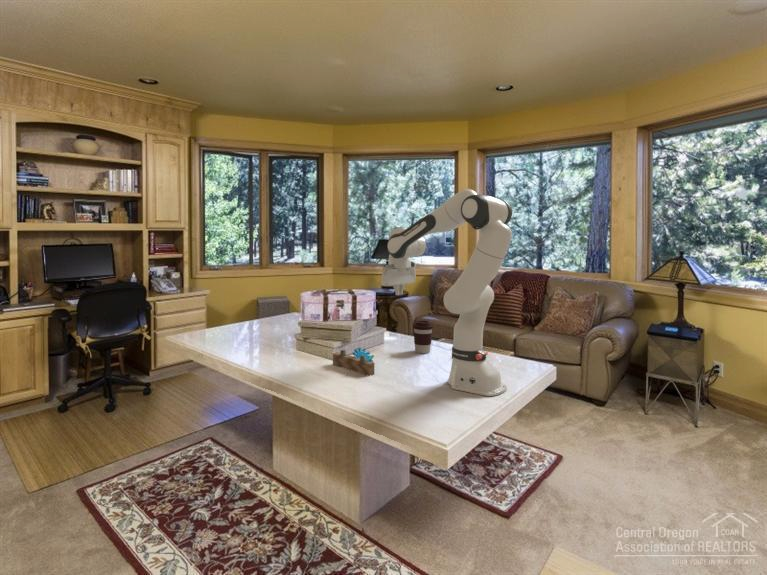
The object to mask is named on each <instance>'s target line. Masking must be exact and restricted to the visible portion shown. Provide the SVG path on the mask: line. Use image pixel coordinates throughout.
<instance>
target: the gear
mask: <svg viewBox="0 0 767 575" xmlns="http://www.w3.org/2000/svg"><path fill="white" fill-rule="evenodd" d="M366 351H367V349H366V348H365V347H364V348H363V349H362V347H360V346H359V347H358V348H355V349H354V351H353V352H352V356H353V357H357V358H360V356H361V355H365V356H366V360H367V361H371V362H374V360H373V359H374V357H375V355H374V354H372V355H371V352H370V351H369V350H368V351H367V352H366Z"/></svg>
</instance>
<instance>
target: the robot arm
mask: <svg viewBox="0 0 767 575" xmlns="http://www.w3.org/2000/svg"><path fill="white" fill-rule="evenodd" d="M512 208H513V207H511V204H509V203H508V202H507V201H506V200H503V199H500V198H497V197H494V196H491V195H485V194H483V195H482V194H480V193H479V194H478V193H477V192H476V191H474V190H473V189H471V188H465V189H462V190H460V191H459V192H457V193H454V195H452V196H450V197H449V198H448V199H447V200H445V201H444V202H443V203H442V204H441V205H439V206H438V207H437V208H435V209H434V210H432V211H431V212H429V213H428V214H427V215H425V216H423V217H421V218H420V219H419V220H417V221H416V222H414V223H413V224H411V225H410V226H409V227H406V226H398V227H394V228H392V229H390V232H389V236H388V241H387V244H386V247H387V251H388V253H389V255H388V264H385V265H384V266H383V268H382V273H381V285H382V286H383V287H393V289H394V291H395V292H394V293H395V296H401V295H403V293H404V292H403V291H404V289H405V285H411V284H415V282H416V279H417V278H416V277H417V276H416V275H417V271H416V265H417V264H416V262H414V261H412V260H410V259H409V258H417V257H422V256H423V255H424V254H425V253H426V250H427V241H426V239H425V236H428V235H431V234H436V233H437V234H438V233H447V232H451V231H454V230H456V229H457V228H459V227H461V226H462V225H464V223H468V224H469V225H470V226H471V228H472V229H473V230H477V231H478V230H479V233H480V234H479V238H478V241H477V243H476V245H475V247H474V249H473V251H472V253H471V257H470V259H469V261H468V262H467V265H466V266H465V268H464V269H463V271H462V273H461V274H460V276H459V277H457V280H456V281H455V282H454V284H453V285H451V287H450V288H448V289H447V290H446V291H445V293H444V295H443V305H444V307H445V309H446V310H447V311H448V312H450V313H451V314H456V315H459V317H458V320H457V321H456V322H455V324H454V327H453V342H452V347H451V359H452V360H451V367H450V373H449V376H448V379H447V383H448V385H449V386H450V389H452V390H456V391H460V392H461V391H462V392H467V393H471V394H476V395H481V396H486V397H495V396H498V395H501V394H503V393H505V392H506V391H507V390H508V386H507V384H506V383H502V377H501V373H500V371H499V370H498V369H497V368H496V366H494V365H493V364H492V363H491V362H490V361H489V360H488V359H487V355H489V351H485V350H484V348H483V344H484V343H483V339H484V327H485V323H486V319H487V317H488V313H489V309H490V307H491V305H492V304H493V303H494V300H495V292H494V289H493V288H492V287H491V286H490V285H489V284H490V283H491V282H492V281H493V280H494V279H495V278H496V277H497V274H498V272H499V270H500V268H501V266H502V264H503V262H504V259H505V258H506V255H507V253H508V249H509V247H510V243H511V239H512V237H513V236H512V233H513V232H512V229H511V228H510V227H509V226H508V224H509V222H510V221H511V219H512V217H513V209H512Z"/></svg>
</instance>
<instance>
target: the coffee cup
mask: <svg viewBox="0 0 767 575" xmlns="http://www.w3.org/2000/svg"><path fill="white" fill-rule="evenodd" d="M412 328H413V343H414V351H415V353H417V354H429V353H430V352H431V346H432V340H433V339H432V338H433V330H434V324H432V323H431V321H430V320H421V319H420V320H416V321H415V323H413V324H412Z"/></svg>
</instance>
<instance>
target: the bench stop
mask: <svg viewBox="0 0 767 575" xmlns="http://www.w3.org/2000/svg"><path fill="white" fill-rule="evenodd" d="M335 365H336V367H338V366H339V368H342V367H343V368H342V369H345V368H346V370H348V369H349V371H351V370H352V372H355V373H358V374H360V375H361V374H362V375H364V376H367V375H368V376H369V377H371V376H373V375H375V362H374V361H373V362H371V361H367V360H366V356H365V355H361V356H360V358H357V357H354V355H349V354H347V349H340V351H339V352H334V353H332V366H335ZM370 375H371V376H370Z"/></svg>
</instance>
